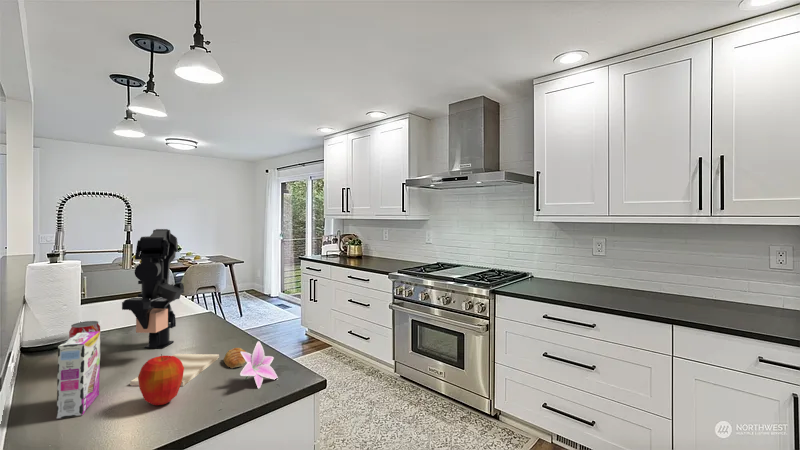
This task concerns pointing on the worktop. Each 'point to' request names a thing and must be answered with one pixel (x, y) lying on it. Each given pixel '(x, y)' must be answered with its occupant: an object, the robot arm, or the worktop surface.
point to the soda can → (84, 328)
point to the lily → (258, 365)
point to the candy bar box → (78, 374)
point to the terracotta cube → (154, 321)
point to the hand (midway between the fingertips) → (152, 325)
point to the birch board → (190, 366)
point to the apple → (160, 379)
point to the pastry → (234, 358)
